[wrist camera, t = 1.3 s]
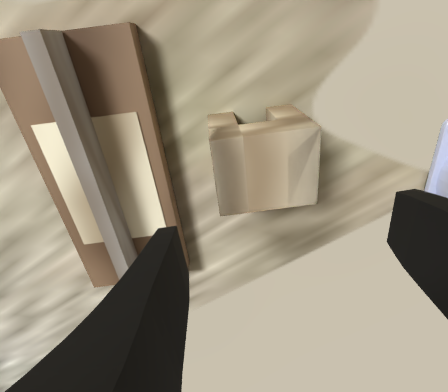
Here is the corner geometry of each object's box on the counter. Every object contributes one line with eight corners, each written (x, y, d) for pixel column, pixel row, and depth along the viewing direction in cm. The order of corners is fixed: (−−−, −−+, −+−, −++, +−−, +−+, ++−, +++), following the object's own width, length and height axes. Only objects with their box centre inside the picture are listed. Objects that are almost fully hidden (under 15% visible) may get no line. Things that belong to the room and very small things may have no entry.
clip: (290, 104, 17) (321, 126, 13) (290, 165, 19) (317, 203, 14) (207, 114, 17) (209, 141, 13) (216, 175, 19) (219, 216, 14)
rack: (135, 24, 14) (116, 19, 11) (189, 261, 22) (187, 297, 19) (-1, 41, 14) (-58, 41, 11) (100, 272, 22) (83, 311, 19)
